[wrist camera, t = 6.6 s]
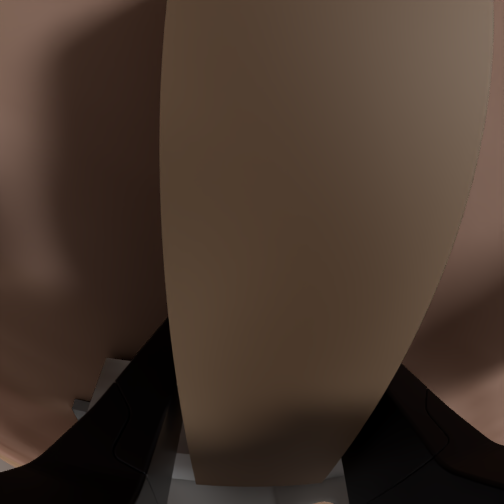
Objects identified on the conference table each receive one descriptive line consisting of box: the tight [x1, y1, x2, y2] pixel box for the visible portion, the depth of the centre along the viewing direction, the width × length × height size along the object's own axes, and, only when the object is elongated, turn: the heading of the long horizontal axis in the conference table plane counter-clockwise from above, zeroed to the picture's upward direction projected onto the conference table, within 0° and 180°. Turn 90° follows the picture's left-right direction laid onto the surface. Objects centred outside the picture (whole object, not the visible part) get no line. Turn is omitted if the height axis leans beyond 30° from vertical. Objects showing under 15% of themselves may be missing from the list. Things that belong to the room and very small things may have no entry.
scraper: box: [87, 0, 494, 487], centre depth 7 cm, size 11×14×4 cm
